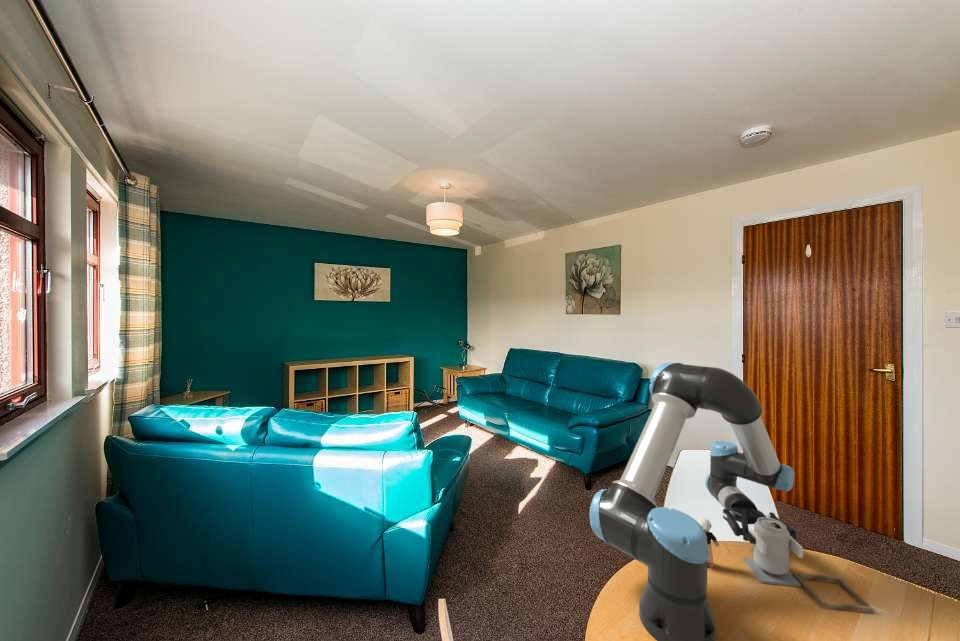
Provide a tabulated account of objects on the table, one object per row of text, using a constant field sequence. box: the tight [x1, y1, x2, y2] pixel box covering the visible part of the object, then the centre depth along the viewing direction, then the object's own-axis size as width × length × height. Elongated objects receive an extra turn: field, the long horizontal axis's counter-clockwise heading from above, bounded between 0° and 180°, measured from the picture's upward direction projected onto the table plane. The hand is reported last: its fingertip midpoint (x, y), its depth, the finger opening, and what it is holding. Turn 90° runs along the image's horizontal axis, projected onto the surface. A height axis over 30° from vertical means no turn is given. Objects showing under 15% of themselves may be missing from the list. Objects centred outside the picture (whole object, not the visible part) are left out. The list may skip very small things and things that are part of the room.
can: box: [752, 517, 790, 575], centre depth 102 cm, size 8×8×12 cm
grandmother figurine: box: [697, 517, 720, 568], centre depth 105 cm, size 8×4×13 cm, turn 106°
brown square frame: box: [791, 572, 875, 614], centre depth 95 cm, size 11×11×1 cm
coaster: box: [742, 557, 802, 588], centre depth 102 cm, size 9×9×1 cm
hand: (782, 551), depth 97 cm, fingers closed on can, 7 cm apart
